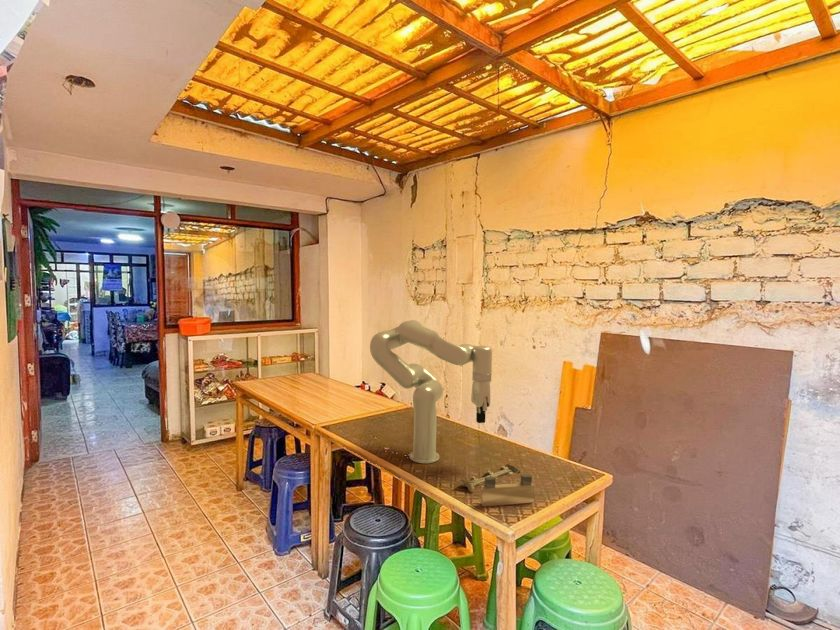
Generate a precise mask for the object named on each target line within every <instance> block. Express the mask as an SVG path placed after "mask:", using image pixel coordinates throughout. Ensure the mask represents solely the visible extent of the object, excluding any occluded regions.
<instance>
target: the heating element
mask: <svg viewBox="0 0 840 630" xmlns="http://www.w3.org/2000/svg"><path fill="white" fill-rule="evenodd" d="M520 471H521V470H520V469H518V468H516V467H515V466H513V465H510V464H509V463H507V464H505V465H502V466H500V468H499V469H498V471H497V472H496V471H495V470H492V471H491V470H487V472H485V473H484V474H483V475H482V476H481V478H476V477H475V476H474V475H473V476H472V477H471V479H470V480H469V481H466V480H464V479H462V478H461V477H458V478H459V481H460V482H459V484H460V485H461V487H463V488H467V489H468V491H469V492H470V493H474V490H475V489H476V488H480V487H481V488H482V486H484V484H485V477H494V478H495V484H496V483H497V481H496V480H498V479H500V478H502V477H504V476H507V475H514V474H518V473H519V472H520Z"/></svg>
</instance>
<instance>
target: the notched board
mask: <svg viewBox="0 0 840 630" xmlns="http://www.w3.org/2000/svg"><path fill="white" fill-rule="evenodd" d="M532 478H533V476H532V475H531V474H529V473H525V474H520V482H518V483H505V484H504V483H503V484H496V483H495V482H496V480H495V478H494V477H485V484H484V485H481V486H482V487H481V492H480V494H481V495H480V498H481V499H480V504H481V506H482V507H493V506H504V505H505V506H506V505H516V504H517V505H518V504H530V503H534V499H535V484H534V483H533V482H532Z"/></svg>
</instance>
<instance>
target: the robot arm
mask: <svg viewBox="0 0 840 630" xmlns="http://www.w3.org/2000/svg"><path fill="white" fill-rule="evenodd" d="M369 342H370V343H369V349H370V356H372V358H373V361H374V362H376V364H377V365H378V366H379V367H380V368H382V369H383V370H384V371H385V372H386V374H388V375H389V376H390V377H391V378H392V379H393V380H394V381H395V382H396V383H397V384H398V385H399V386H401V388H403V389H405V390H407V389H408V390H409V389H412V388H415V389H414V391H413V395H412V405H413V444H412V445H413V446H412V447H413V448H412V449H413V450H412V451H411V452H410V453H409V459H410V460H411V461H413V462H414V463H418V464H433V463H435V462H438V461H439V459H440V453H438V452H437V424H438V423H437V418H438V417H437V408H436V407H437V406H436V404H437V401H439V400H440V399H441V398H442V396H443V393H444V389H443V386H442V384H441V383H440V382H439V380H438V379H437V378H436V377H434V376H433V375H432V374H431V373H430V372H429V371H428V370H427V369H426V368H424V366H422V365H421V364H419V363H409V364H408V363H407V362H406V361H404V360H403V359H402V358H401V356H399V355H398V354H396V353H394V352H393V351H392V350H393V349H396V348H399V347H401V346H403V345H406V344H411V345H413V346H416V347H419V348H421V349H423V350H426V351H428V352H430V354H432V355H434V356H435V357H436V358H438V359H440V360H442V361H445V362H448V363H450V364H452V365H455V366H460V367H461V366H465V365H467V364H468V363H472V374H471V375H472V378H471V381H472V385H471V396H470V397H471V398H470V399H471V403H472V404H474V405H475V409H476V414H475V415H476V419H475V420H476V421H475V422H477V424H484V423H486V413H487V411H488V408H489V407H490V405H491V382H492V372H493V371H492V369H493V368H492V366H493V365H492V364H493V351H492V347H491V346H487V345H472V344H467V343H463V344H460V345H457V344H453V343H452V342H449V341H447V340H445V339H444V338H442V337H441V336H440V335H439V333H438V332H437V331H436V330H434V329H430V328H427V327H425V326H423V325H422V323H421V322H419V321H418V320H416V319H415V320H414V319H411V320H405V321H403V322H401V323H399V325H398V326H396V327H394V328H391V329H388V330H384V331H379V332H377V333H375V334H374V335H373V336H372V338H371V340H370V341H369Z"/></svg>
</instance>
